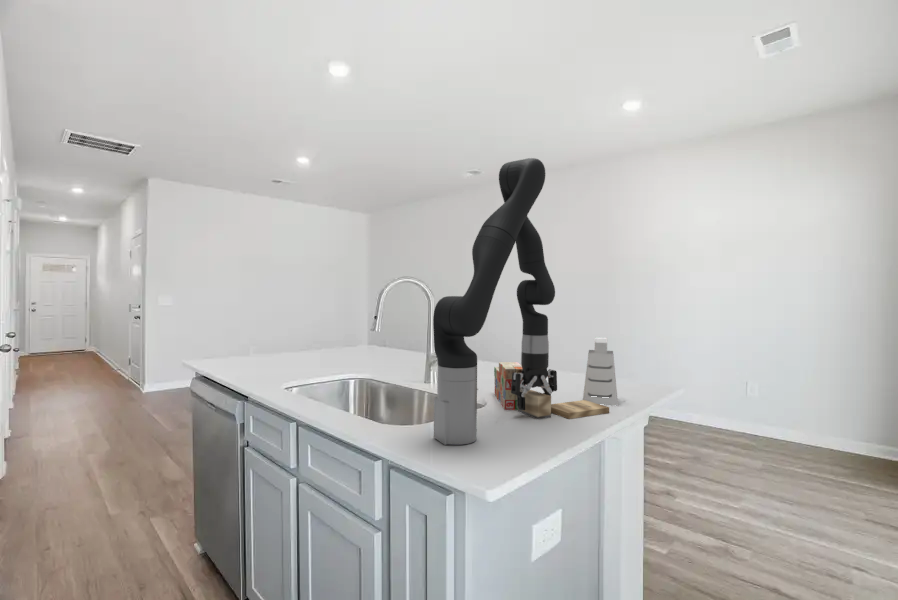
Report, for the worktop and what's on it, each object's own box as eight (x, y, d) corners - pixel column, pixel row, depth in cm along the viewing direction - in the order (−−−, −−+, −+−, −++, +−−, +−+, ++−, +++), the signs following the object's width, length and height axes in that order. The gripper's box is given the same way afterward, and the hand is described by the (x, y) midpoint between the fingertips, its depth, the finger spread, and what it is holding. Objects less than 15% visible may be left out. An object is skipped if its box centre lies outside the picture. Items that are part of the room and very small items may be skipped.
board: (568, 419, 126) (568, 413, 126) (545, 410, 135) (545, 404, 134) (609, 412, 132) (609, 407, 132) (584, 405, 141) (584, 399, 141)
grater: (582, 403, 144) (583, 339, 143) (583, 396, 154) (584, 336, 153) (618, 406, 140) (619, 340, 140) (617, 398, 150) (618, 337, 150)
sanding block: (537, 419, 125) (538, 397, 125) (518, 411, 133) (518, 391, 133) (550, 417, 127) (551, 396, 127) (530, 410, 135) (531, 389, 135)
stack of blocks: (494, 394, 156) (494, 357, 156) (512, 394, 157) (512, 357, 156) (504, 410, 135) (505, 368, 135) (525, 410, 135) (526, 368, 135)
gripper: (522, 353, 123) (521, 414, 124) (563, 351, 130) (562, 408, 130) (506, 350, 130) (505, 407, 130) (546, 348, 136) (545, 402, 137)
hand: (534, 408), depth 130 cm, fingers open, 8 cm apart
